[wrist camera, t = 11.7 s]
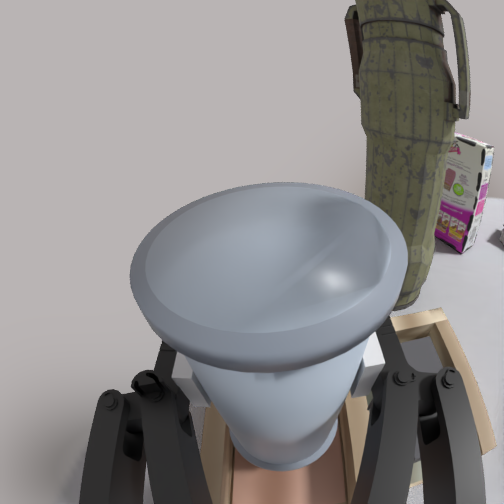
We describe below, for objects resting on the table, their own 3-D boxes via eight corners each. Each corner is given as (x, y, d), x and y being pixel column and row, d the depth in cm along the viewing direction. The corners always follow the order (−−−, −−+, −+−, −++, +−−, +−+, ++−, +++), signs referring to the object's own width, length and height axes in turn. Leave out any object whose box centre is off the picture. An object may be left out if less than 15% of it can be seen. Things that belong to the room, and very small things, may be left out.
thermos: (367, 248, 35) (359, -17, 15) (439, 286, 27) (459, -19, 7) (326, 279, 31) (303, -41, 11) (408, 331, 23) (427, -63, 3)
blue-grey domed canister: (329, 376, 17) (356, 177, 9) (341, 465, 11) (460, 321, 3) (233, 382, 18) (172, 194, 10) (227, 471, 12) (84, 347, 4)
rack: (427, 334, 22) (441, 307, 20) (469, 460, 10) (496, 446, 8) (225, 360, 24) (215, 335, 22) (211, 509, 12) (194, 509, 10)
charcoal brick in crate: (414, 363, 19) (429, 336, 17) (439, 453, 11) (465, 437, 9) (373, 372, 19) (385, 346, 17) (393, 469, 12) (415, 459, 10)
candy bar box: (474, 245, 32) (496, 146, 22) (461, 255, 30) (486, 147, 21) (426, 215, 40) (437, 125, 31) (410, 222, 39) (421, 125, 30)
